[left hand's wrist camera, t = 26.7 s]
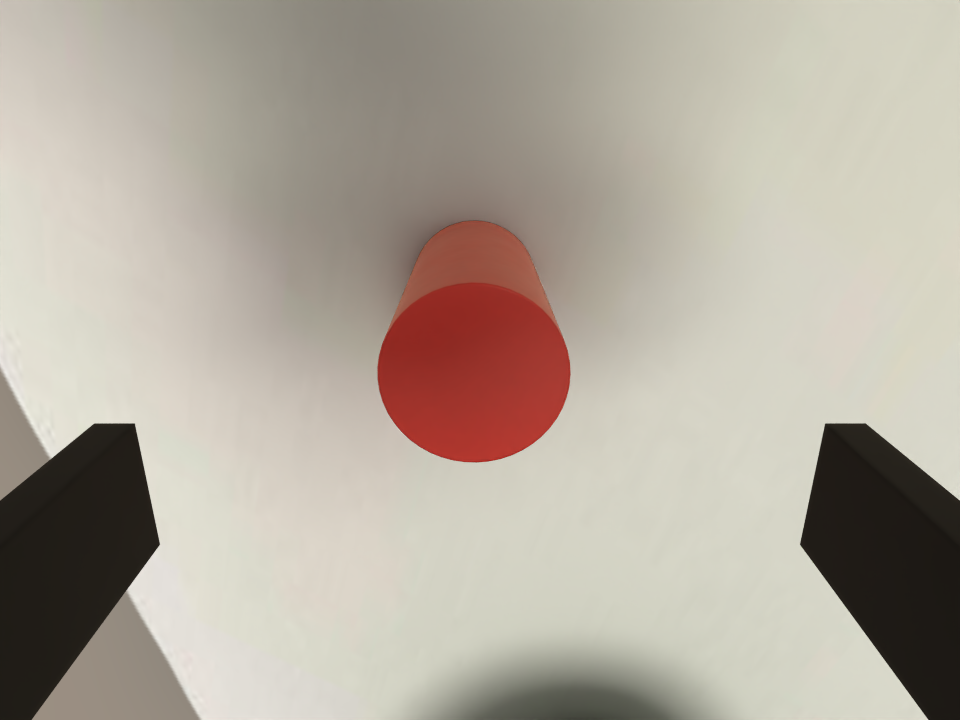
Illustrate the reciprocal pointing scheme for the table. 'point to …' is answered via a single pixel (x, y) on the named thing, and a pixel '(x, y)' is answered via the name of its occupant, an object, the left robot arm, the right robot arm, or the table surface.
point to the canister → (474, 348)
